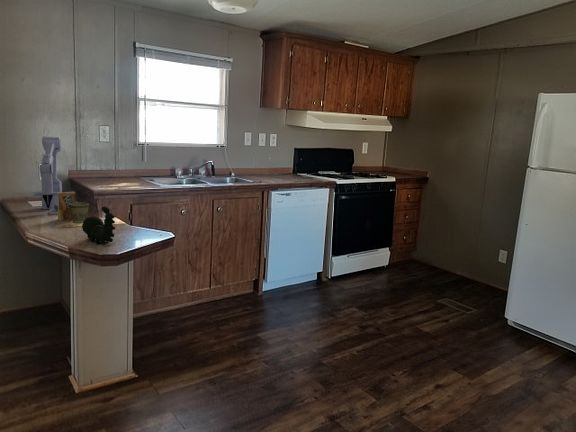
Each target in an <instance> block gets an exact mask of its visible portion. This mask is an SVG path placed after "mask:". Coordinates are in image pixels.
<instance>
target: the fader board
mask: <svg viewBox="0 0 576 432" xmlns="http://www.w3.org/2000/svg"><path fill="white" fill-rule="evenodd" d="M49 215H50V216H51V215H52V216H53V215H58V211H56V210H54V209H49Z"/></svg>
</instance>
